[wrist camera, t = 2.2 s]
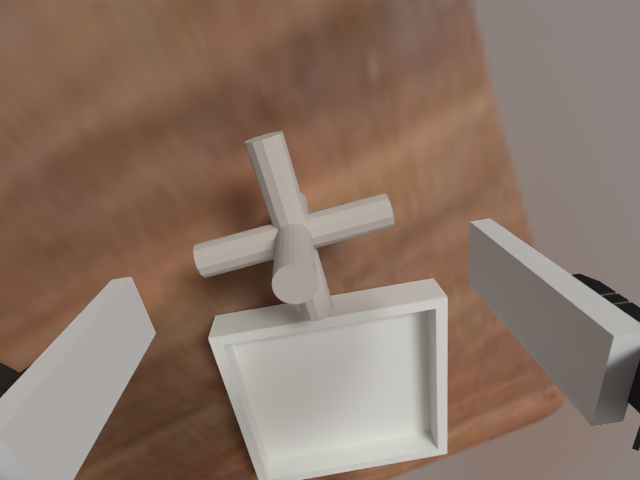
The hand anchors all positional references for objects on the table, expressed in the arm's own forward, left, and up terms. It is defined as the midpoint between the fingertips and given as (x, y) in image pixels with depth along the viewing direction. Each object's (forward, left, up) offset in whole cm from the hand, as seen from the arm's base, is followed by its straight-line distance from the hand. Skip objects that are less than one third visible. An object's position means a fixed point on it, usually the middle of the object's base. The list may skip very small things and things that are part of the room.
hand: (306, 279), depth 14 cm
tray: (+1, -15, -10) cm, 18 cm away
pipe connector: (0, 0, -10) cm, 10 cm away
